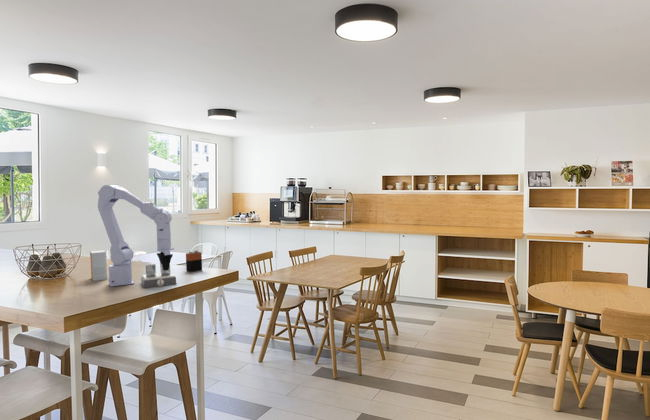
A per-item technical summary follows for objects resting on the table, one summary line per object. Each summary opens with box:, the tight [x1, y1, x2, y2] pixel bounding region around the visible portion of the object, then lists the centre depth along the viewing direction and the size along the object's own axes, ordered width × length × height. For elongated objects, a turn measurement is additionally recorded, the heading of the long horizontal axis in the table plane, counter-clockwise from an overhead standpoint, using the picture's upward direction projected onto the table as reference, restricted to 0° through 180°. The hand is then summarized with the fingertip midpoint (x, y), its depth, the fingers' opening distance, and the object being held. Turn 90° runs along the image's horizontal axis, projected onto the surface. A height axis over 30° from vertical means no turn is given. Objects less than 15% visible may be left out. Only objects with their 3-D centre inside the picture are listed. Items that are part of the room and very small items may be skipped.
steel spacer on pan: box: [145, 263, 157, 277], centre depth 195 cm, size 4×4×5 cm
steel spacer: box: [159, 263, 171, 276], centre depth 198 cm, size 4×4×5 cm
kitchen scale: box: [140, 271, 177, 289], centre depth 196 cm, size 13×12×4 cm
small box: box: [89, 249, 108, 282], centre depth 211 cm, size 8×6×13 cm
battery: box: [185, 250, 203, 273], centre depth 226 cm, size 4×7×10 cm, turn 141°
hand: (165, 269), depth 198 cm, fingers open, 4 cm apart
